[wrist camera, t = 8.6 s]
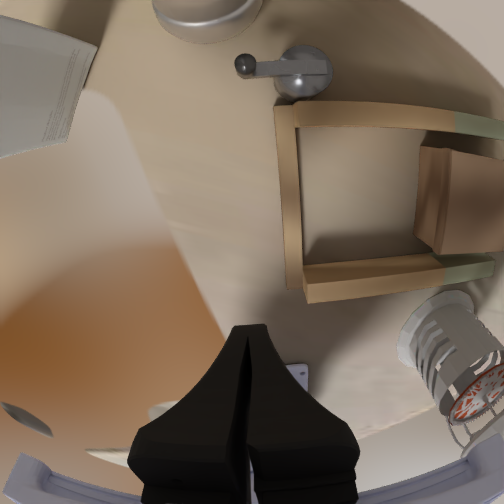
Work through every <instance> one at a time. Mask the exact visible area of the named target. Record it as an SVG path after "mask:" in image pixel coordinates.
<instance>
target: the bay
mask: <svg viewBox="0 0 504 504" xmlns="http://www.w3.org/2000/svg"><path fill="white" fill-rule="evenodd" d="M273 111H274V121H275V132H276V143H277V155H278V167H279V179H280V193H281V207H282V221H283V237H284V254H285V272H286V286H287V290H289V289H300V288H303V290H304V293H305V296H306V300H307V303H308V304H309V303H319V302H328V301H337V300H346V299H354V298H362V297H370V296H377V295H384V294H392V293H398V292H405V291H412V290H418V289H424V288H431V287H437V286H443V285H448V284H454V283H459V282H465V281H470V280H475V279H481V278H486V277H491V276H492V275H493V271H494V267H495V262H496V260H495V259H493V258H492V257H490V256H489V255H488V254H486V253H485V252H484V253H465V254H444V255H437V254H436V253H435V252H432V253H423V254H414V255H404V256H395V257H385V258H375V259H365V260H355V261H345V262H334V263H324V264H313V265H303V263H302V234H301V212H300V194H299V177H298V162H297V149H296V136H295V128H299V127H387V128H405V129H419V130H430V131H440V132H449V133H457V134H465V135H472V136H478V137H484V138H492V139H498V140H504V121H500V120H496V119H491V118H487V117H482V116H477V115H473V114H467V113H462V112H456V111H450V110H444V109H437V108H430V107H422V106H414V105H404V104H393V103H380V102H361V101H297V102H296V103H295V104H293V105H285V106H274V107H273Z"/></svg>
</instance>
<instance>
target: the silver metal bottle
mask: <svg viewBox="0 0 504 504" xmlns="http://www.w3.org/2000/svg"><path fill="white" fill-rule="evenodd" d="M262 2H263V0H152V5H153V9H154V12H155V14H156V16H157V18H158V20H159V22H160V24H161V25H162V27H163V28H164V29H165V30H166V31H168V32H169V33H171V34H172V35H174V36H176V37H178V38H180V39H182V40H185V41H187V42H192V43H197V44H210V43H217V42H221V41H225V40H228V39H230V38H233V37H235V36H236V35H238V34H240V33H241V32H243V31H244V30H245V29H246V28H248V27H249V26H250V24H251V23H252V22H253V21H254V19H255V17H256V15H257V14H258V12H259V10H260V8H261V6H262Z"/></svg>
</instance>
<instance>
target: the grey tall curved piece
mask: <svg viewBox="0 0 504 504" xmlns="http://www.w3.org/2000/svg"><path fill="white" fill-rule="evenodd" d="M475 317H476V316H475V315H474V304H473V302H472V300H471V298H470V296H469V295H468V294H466V293H464V292H462V291H460V290H450V291H443V292H442V293H440V294H438V295H436V296H434V297H432V298H430V299H428V300H427V301H426V302H424V303H423V304H422V305H421V306H420V307H419V308H418V309H417V310H416V311H414V312H413V313H412V315H411V316H410V318H409V319H408V321H407V322H406V324H405V325H404V327H403V328H402V330H401V333H400V336H399V339H398V343H397V351H398V358H399V359H400V360H401V361H402V362H403V363H404V364H405V365H406V366H409V367H414V368H417V370H418V372H419V374H420V376H421V373H422V375H423V376H421V377H422V379H423V381H424V383H425V385H426V386H427V388H428V390H429V391H430V393H431V395H432V397H433V399H434V401H435V403H436V405H437V407H438V409H439V411H440V412H441V414H442V415H444V416H445V418H446V421H447V424H448V428H449V430H450V432H451V434H452V436H453V438H454V440H455V442H456V443H457V444H458V445H459V446H460V447H461V448H462V449H463V452H462V454H461V458H464V457H466V456H467V454H468V453H469V451H470V450H471V449H472V448H473V447H474V446H476V445H477V444H479V443H480V442H482V441H484V440H486V439H488V438H490V437H492V436H494V435H495V434H497V433H500V434H501V436H502V438H503V440H504V409H503V410H502V411H501V412H500V413H499V414H498V415H496V413H495V411H494V410H493V408H492V406H493V407H494V404H497V401H498V402H499V399H501V398H502V396H503V395H504V347H503V345H502V344H501V343H500V342H499V341H498V340H497V338H496V337H495V336H492V334H491V332H490V331H489V330H488V328H485V326H484V324H483V323H482V322H481V321H480V320H478V318H477V317H476V319H477V320H476V319H475ZM481 324H482V325H481ZM482 326H483V327H482ZM488 332H489V333H490V335H491V336H490V335H489V333H488ZM497 350H499V351H500V356H501V361H500V364H498V365H495V363H496V360H497V357H498V354H497ZM493 351H494V353H493V357H492V361H491V363H490V364H489V366H488V367H487V368H486V369H485V370H484V371H483V372H481V373H479V374H477V375H475V374H474V371H476V370H477V369H479V368H480V367H481V366H482V365H483V364H484V363H485V362H486V361H487V360H488V358H489V355H490V352H493ZM483 356H484V357H483ZM481 357H483V358H482V359H481V360H480V361H479V362H478V363H477V364H475V365H474V366H472V367H469V366H471V365H472V364H473V363H474V362H476V361H477V360H478V359H480V358H481ZM438 364H440V365H441V368H440V370H439V371H437V370H436V368H435V366H436V365H438ZM426 382H427V383H426ZM427 384H428V385H427ZM451 384H453V385H454V387H455V389H456V390H457V399H456V401H455V400H454V398H453V396H452V395H451V393H450V391H449V390H448V388H449V386H450V385H451ZM432 393H433V394H432ZM489 409H490V410H491V412H492V413H493V415H494V416H495V417H494V418H493V419H492V420H491V421H489V422H488V423H487V424H486V426H484V427H483V428H482V429H481V430H479V431H477V432H475V433H473V434H471V433H470V432H469V430H468V428H467V426H466V423H469V422H472V421H474V419H477V417H480V416H481V415H483V414H484V413H486V411H488V410H489ZM448 416H449V419H448ZM450 424H451V425H453V426H456V425H463V426H464V428H465V430H466V432H467V434H468V435H469V436H470V442H469V443H468V444H467V445H466V446H465V447H463V446H462V445H461V444H460V443H459V442H458V440H457V439H456V437H455V435H454V433H453V431H452V429H451V426H450Z"/></svg>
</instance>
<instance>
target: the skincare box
mask: <svg viewBox="0 0 504 504" xmlns="http://www.w3.org/2000/svg"><path fill="white" fill-rule="evenodd" d="M96 51H97V47H96V46H94V45H92V44H90V43H87V42H84V41H82V40H79V39H76V38H73V37H71V36H68V35H65V34H62V33H59V32H56V31H53V30H51V29H48V28H45V27H41V26H38V25H35V24H32V23H28V22H25V21H22V20H18V19H14V18H10V17H6V16H2V15H0V159H1V158H4V157H7V156H11V155H14V154H18V153H22V152H26V151H29V150H33V149H37V148H41V147H46V146H51V145H55V144H60V143H65V142H66V141H67V138H68V134H69V130H70V127H71V123H72V119H73V115H74V112H75V109H76V106H77V103H78V100H79V96H80V94H81V91H82V88H83V85H84V82H85V79H86V76H87V74H88V71H89V68H90V65H91V63H92V60H93V58H94V55H95V53H96Z"/></svg>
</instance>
